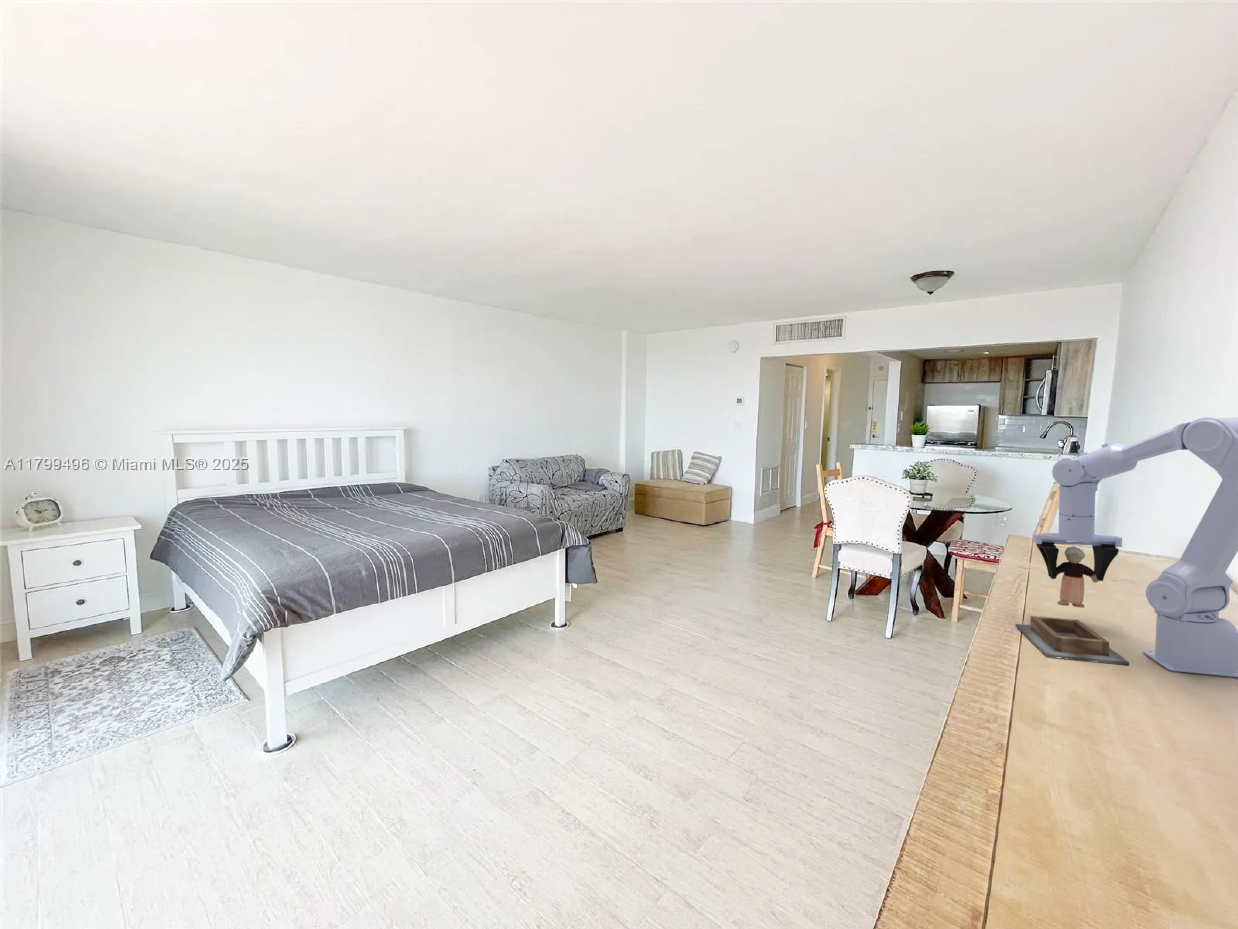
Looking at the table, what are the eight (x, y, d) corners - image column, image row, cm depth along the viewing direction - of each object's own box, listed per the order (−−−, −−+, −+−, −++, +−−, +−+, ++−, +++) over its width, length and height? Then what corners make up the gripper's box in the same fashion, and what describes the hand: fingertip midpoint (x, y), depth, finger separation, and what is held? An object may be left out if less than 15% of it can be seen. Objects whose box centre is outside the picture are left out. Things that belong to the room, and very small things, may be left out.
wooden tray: (1084, 632, 108) (1085, 617, 108) (1128, 665, 93) (1129, 648, 93) (1015, 626, 112) (1015, 612, 112) (1046, 657, 97) (1047, 640, 97)
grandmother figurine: (1054, 606, 111) (1055, 547, 111) (1048, 600, 115) (1049, 543, 114) (1101, 610, 108) (1102, 549, 108) (1092, 604, 112) (1094, 545, 111)
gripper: (1110, 513, 112) (1108, 575, 112) (1027, 511, 117) (1026, 571, 117) (1128, 518, 105) (1126, 584, 106) (1040, 516, 110) (1039, 579, 111)
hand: (1075, 578), depth 111 cm, fingers closed on grandmother figurine, 7 cm apart
